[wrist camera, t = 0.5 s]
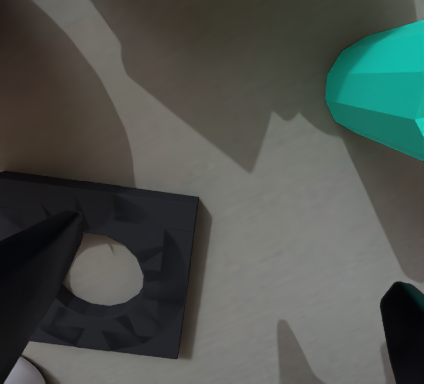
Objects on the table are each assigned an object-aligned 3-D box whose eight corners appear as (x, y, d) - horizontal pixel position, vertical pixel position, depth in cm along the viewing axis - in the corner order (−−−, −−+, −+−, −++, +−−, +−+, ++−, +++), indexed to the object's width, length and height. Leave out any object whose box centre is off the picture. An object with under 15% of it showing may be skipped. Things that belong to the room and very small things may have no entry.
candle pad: (180, 345, 28) (177, 360, 26) (18, 325, 28) (7, 338, 26) (199, 196, 23) (197, 204, 22) (4, 169, 23) (-11, 176, 21)
